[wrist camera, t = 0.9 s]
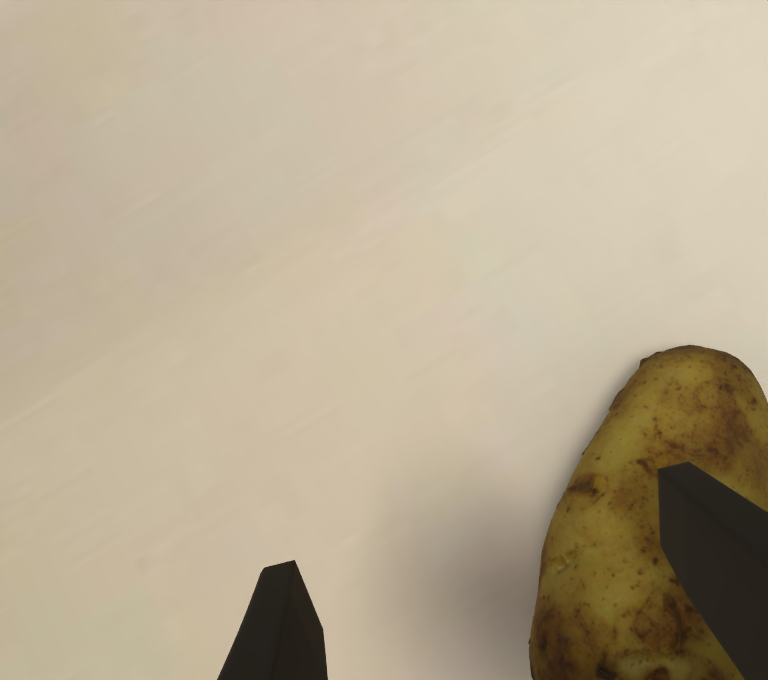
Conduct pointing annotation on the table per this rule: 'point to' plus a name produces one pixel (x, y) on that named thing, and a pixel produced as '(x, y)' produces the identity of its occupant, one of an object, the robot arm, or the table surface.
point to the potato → (645, 524)
